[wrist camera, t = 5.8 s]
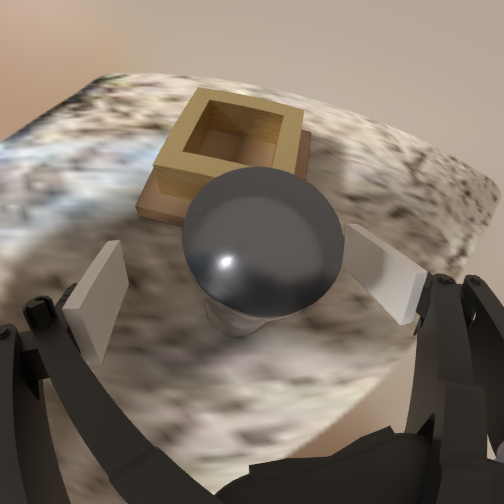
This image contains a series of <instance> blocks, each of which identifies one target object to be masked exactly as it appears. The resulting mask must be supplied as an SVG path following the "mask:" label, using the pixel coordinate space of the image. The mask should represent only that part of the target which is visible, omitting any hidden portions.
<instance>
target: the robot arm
mask: <svg viewBox="0 0 504 504" xmlns="http://www.w3.org/2000/svg"><path fill="white" fill-rule="evenodd" d="M342 266H343V267H344V268H345V269H346V270H347V271H348V272H349V273H350V274H351V275H352V276H353V277H354V278H355V279H356V280H357V281H358V282H359V283H360V284H361V285H362V286H363V287H364V288H365V289H366V290H367V291H368V292H369V293H370V294H371V295H372V296H373V297H374V298H375V299H376V300H377V301H378V302H379V303H380V304H381V305H382V307H383V308H384V309H385V310H386V311H387V312H388V313H389V314H390V315H391V316H392V317H393V318H394V319H395V320H396V321H397V322H398V323H399V325H400V326H402V325H405V324H409V323H412V321H413V318H414V316H415V313H416V312H417V313H418V314H419V315H420V318H419V321H418V324H417V326H416V329H415V332H414V334H413V335H416V333H417V348H416V360H415V370H414V379H413V387H412V394H411V400H410V407H409V412H408V418H407V423H406V428H405V431H404V433H394V431H393V430H392V428H391V426H388V427H386V428H384V429H381V430H379V431H376V432H373V433H371V434H368V435H366V436H363V437H360V438H359V439H358V440H356V441H354V442H353V443H351V444H350V445H348V446H346V447H345V448H343V449H342V450H340V451H338V452H337V453H335V454H333V455H332V456H328V457H314V458H286V459H282V460H277V461H271V462H266V463H260V464H254V465H249V474H247V475H244V476H242V477H240V478H238V479H236V480H233V481H232V482H230V483H229V484H227V485H225V486H224V487H223V488H222V489H220V490H219V491H218V492H217V493H216V494H215V495H213V494H211V493H210V492H209V491H208V490H206V489H205V488H204V487H203V486H201V485H200V484H199V483H198V482H196V481H195V480H194V479H193V478H192V477H190V476H189V475H188V474H187V473H186V472H185V471H184V470H182V469H181V468H180V467H179V466H178V465H177V464H176V463H175V462H174V461H172V460H171V459H170V458H169V457H168V456H167V455H166V454H165V453H164V452H163V451H162V450H160V449H159V448H158V447H154V446H153V445H152V444H151V443H150V442H149V441H148V440H147V439H146V438H145V437H144V436H143V435H142V434H141V432H140V431H139V430H138V429H137V428H136V427H135V426H134V425H133V424H132V422H131V421H130V420H129V419H128V418H127V417H126V415H125V414H124V413H123V412H122V411H121V409H120V408H119V407H118V406H117V404H116V403H115V402H114V401H113V399H112V398H111V397H110V396H109V394H108V393H107V392H106V390H105V389H104V388H103V386H102V385H101V384H100V382H99V381H98V379H97V378H96V377H95V375H94V374H93V372H92V371H91V370H90V368H89V367H88V365H87V364H93V365H102V362H103V359H104V356H105V352H106V349H107V346H108V343H109V340H110V336H111V333H112V330H113V327H114V324H115V321H116V318H117V315H118V313H119V310H120V307H121V304H122V301H123V299H124V296H125V293H126V291H127V288H128V285H129V282H128V277H127V272H126V268H125V263H124V258H123V253H122V247H121V242H120V240H113V241H107V243H106V244H105V245H104V247H103V248H102V249H101V251H100V252H99V254H98V255H97V256H96V258H95V259H94V261H93V262H92V263H91V265H90V266H89V268H88V269H87V271H86V272H85V274H84V275H83V277H82V278H81V280H80V281H79V283H74V284H72V285H71V286H70V287H69V288H67V289H66V291H65V292H64V294H63V295H62V297H61V298H60V300H59V302H58V303H57V304H56V306H55V307H54V305H53V302H52V299H51V298H50V297H49V296H39V297H36V298H33V299H32V300H30V301H29V302H27V303H26V304H25V306H24V307H23V313H24V316H25V318H26V320H27V322H28V325H29V327H30V329H31V330H30V331H26V332H22V333H18V331H17V329H16V327H15V325H13V324H5V325H1V326H0V504H71V503H70V500H69V497H68V495H67V492H66V489H65V486H64V483H63V480H62V477H61V473H60V470H59V466H58V463H57V459H56V455H55V451H54V447H53V443H52V438H51V434H50V429H49V423H48V418H47V412H46V405H45V398H44V390H43V380H42V379H46V378H50V379H51V381H52V383H53V386H54V388H55V390H56V392H57V394H58V396H59V398H60V400H61V402H62V404H63V406H64V407H65V409H66V411H67V413H68V415H69V417H70V418H71V420H72V422H73V424H74V425H75V427H76V429H77V430H78V432H79V434H80V435H81V437H82V438H83V440H84V442H85V443H86V445H87V446H88V448H89V449H90V451H91V452H92V454H93V455H94V457H95V458H96V459H97V461H98V462H99V464H100V465H101V466H102V468H103V469H104V470H105V472H106V473H107V475H108V476H109V481H110V482H111V484H112V485H113V486H114V488H115V489H116V490H117V492H118V493H119V494H120V495H121V496H122V498H123V499H124V500H125V501H126V502H127V503H128V504H504V307H503V305H502V304H501V303H500V301H499V300H498V298H497V297H496V296H495V294H494V293H493V292H492V291H491V289H490V288H489V287H488V285H487V284H486V283H485V281H483V280H482V279H481V278H480V277H478V276H476V275H466V277H465V279H464V282H463V284H456V282H455V280H454V279H453V278H451V277H449V276H447V275H444V274H435V275H432V274H430V273H429V272H428V271H426V270H425V269H424V268H422V267H421V266H419V265H418V264H417V263H415V262H414V261H412V260H411V259H410V258H408V257H407V256H405V255H404V254H402V253H401V252H399V251H398V250H397V249H395V248H394V247H392V246H391V245H389V244H388V243H386V242H385V241H383V240H382V239H380V238H379V237H377V236H376V235H374V234H373V233H371V232H370V231H368V230H366V229H365V228H363V227H362V226H360V225H359V224H347V225H346V234H345V243H344V254H343V261H342ZM475 313H476V316H475V319H474V320H473V318H474V315H475ZM81 355H82V356H81ZM82 357H83V358H82ZM487 434H488V437H489V441H490V443H491V446H492V449H493V451H494V453H495V455H496V459H494V460H491V459H488V458H487Z"/></svg>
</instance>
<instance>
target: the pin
mask: <svg viewBox="0 0 504 504" xmlns="http://www.w3.org/2000/svg"><path fill="white" fill-rule="evenodd" d="M182 237H183V248H184V253H185V257H186V261H187V265H188V268H189V271H190V274H191V276H192V278H193V280H194V282H195V284H196V285H197V287H198V288H199V290H200V291H201V292H202V293H203V295H204V296H205V302H206V309H207V314H208V318H209V320H210V322H211V324H212V325H213V327H214V328H215V329H216V330H217V331H219V332H220V333H222V334H224V335H226V336H229V337H243V336H247V335H249V334H251V333H252V332H254V331H255V330H257V329H258V328H259V327H261V326H262V325H263V324H265V323H266V322H267V321H275V320H280V319H284V318H287V317H290V316H292V315H295V314H297V313H298V312H300V311H302V310H303V309H305V308H307V307H308V306H310V305H312V304H313V303H315V302H316V301H317V300H319V299H320V298H321V297H322V296H323V295H324V294H325V293H326V292H327V291H328V290H329V289H330V287H331V286H332V284H333V283H334V281H335V280H336V278H337V276H338V273H339V271H340V268H341V265H342V261H343V254H344V240H343V233H342V229H341V225H340V222H339V220H338V217H337V215H336V213H335V212H334V210H333V208H332V206H331V205H330V204H329V202H328V201H327V199H326V198H325V197H324V196H323V195H322V194H321V193H320V192H319V191H318V190H317V189H316V188H315V187H314V186H312V185H311V184H309V183H308V182H307V181H305V180H303V179H302V178H300V177H298V176H296V175H294V174H291V173H289V172H286V171H283V170H280V169H275V168H269V167H245V168H240V169H235V170H232V171H229V172H226V173H224V174H222V175H220V176H218V177H216V178H215V179H213V180H212V181H210V182H209V183H208V184H206V185H205V186H204V187H203V188H202V189H201V190H200V191H199V192H198V194H197V195H196V196H195V198H194V199H193V201H192V202H191V204H190V206H189V208H188V210H187V213H186V216H185V219H184V224H183V231H182Z"/></svg>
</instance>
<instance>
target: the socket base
mask: <svg viewBox="0 0 504 504" xmlns="http://www.w3.org/2000/svg"><path fill="white" fill-rule="evenodd" d="M310 140H311V132H308V131H305V130H302V129H301V134H300V141H299V147H298V153H297V159H296V165H295V172H294V175H296V176H298V177H300V178H302V179H303V180H305V179H306V171H307V164H308V156H309V148H310ZM274 149H275V144H271V143H267V142H263V141H259V140H254V139H250V138H246V137H241V136H237V135H232V134H227V133H223V132H218V131H212V130H208V133H207V135H206V137H205V139H204V141H203V143H202V145H201V148H200V150H199V152H198V154H197V155H202V156H207V157H212V158H217V159H221V160H226V161H230V162H235V163H239V164H243V165H248V166H252V167H269V168H270V166H271V162H272V157H273V153H274ZM191 202H192V201H191V200H187V199H182V198H178V197H173V196H169V195H164V194H160V190H159V186H158V182H157V179H156V175H155V171H154V168H153V170H152V172H151V174H150V176H149V178H148V180H147V182H146V184H145V186H144V189H143V191H142V193H141V195H140V197H139V199H138V201H137V204H136V206H135V207H136V209H137V211H138V214H139V216H141V217H146V218H150V219H154V220H158V221H162V222H166V223H170V224H174V225H179V226H183V224H184V219H185V216H186V213H187V210H188V208H189V206H190V204H191Z"/></svg>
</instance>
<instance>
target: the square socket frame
mask: <svg viewBox="0 0 504 504" xmlns="http://www.w3.org/2000/svg"><path fill="white" fill-rule="evenodd" d="M303 115H304V110H302V109H299V108H295V107H292V106H288V105H284V104H280V103H276V102H272V101H268V100H264V99H260V98H255V97H250V96H246V95H241V94H236V93H230V92H225V91H219V90H213V89H206V88H199V87H198V88H197V90H196V91H195V93H194V94H193V96H192V98H191V99H190V101H189V102H188V104H187V105H186V107H185V109H184V110H183V112H182V114H181V115H180V117H179V119H178V120H177V122H176V124H175V125H174V127H173V129H172V130H171V132H170V134H169V136H168V137H167V139H166V141H165V143H164V145H163V146H162V148H161V150H160V152H159V154H158V156H157V158H156V160H155V161H154V163H153V167H154V171H155V175H156V179H157V182H158V186H159V190H160V194H164V195H169V196H173V197H178V198H182V199H187V200H191V201H193V199H194V198H195V196H196V195H197V194H198V192H199V191H200V190H201V189H202V188H203V187H204V186H205V185H206V184H208V183H209V182H210V181H212V180H213V179H215V178H216V177H218V176H220V175H222V174H224V173H226V172H229V171H232V170H235V169H240V168H245V167H252V166H248V165H243V164H239V163H235V162H230V161H226V160H221V159H217V158H212V157H207V156H202V155H197V154H198V152H199V150H200V148H201V145H202V143H203V141H204V139H205V137H206V135H207V133H208V130H212V131H218V132H223V133H227V134H232V135H237V136H241V137H246V138H250V139H254V140H259V141H263V142H267V143H271V144H275V149H274V153H273V157H272V162H271V166H270V168H275V169H280V170H283V171H286V172H289V173H291V174H294V172H295V165H296V159H297V153H298V147H299V141H300V134H301V128H302V121H303Z"/></svg>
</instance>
